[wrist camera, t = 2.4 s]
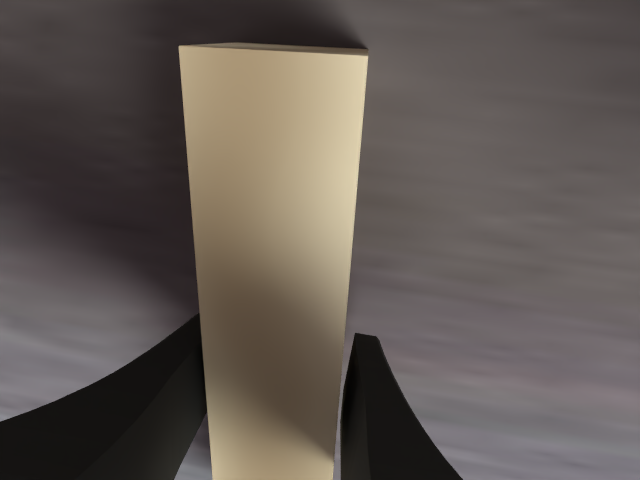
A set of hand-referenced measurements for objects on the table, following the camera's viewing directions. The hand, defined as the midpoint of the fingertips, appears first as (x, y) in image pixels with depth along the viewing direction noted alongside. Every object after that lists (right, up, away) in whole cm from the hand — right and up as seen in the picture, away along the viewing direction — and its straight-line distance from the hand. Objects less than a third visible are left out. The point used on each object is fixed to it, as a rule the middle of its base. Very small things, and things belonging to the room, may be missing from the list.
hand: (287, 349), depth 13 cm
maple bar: (0, +1, +2) cm, 2 cm away
